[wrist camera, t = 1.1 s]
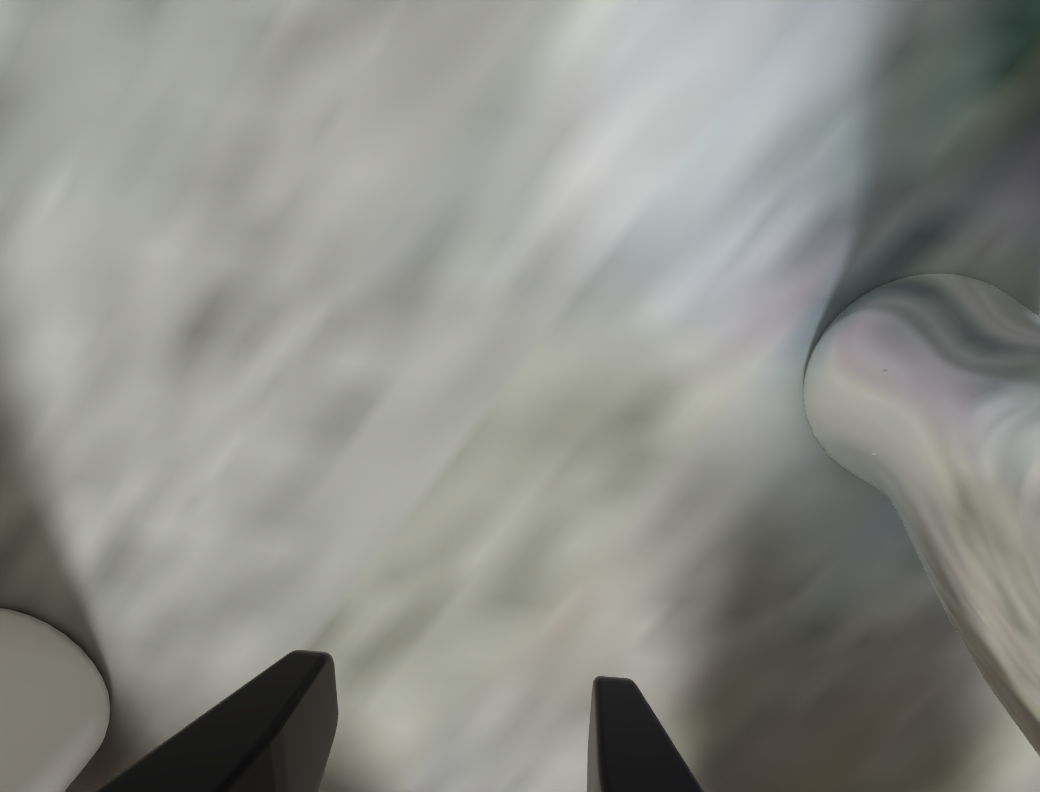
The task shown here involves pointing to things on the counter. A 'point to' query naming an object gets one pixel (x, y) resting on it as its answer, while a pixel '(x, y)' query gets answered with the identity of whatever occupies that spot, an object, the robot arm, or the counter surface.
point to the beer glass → (949, 453)
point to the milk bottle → (46, 706)
